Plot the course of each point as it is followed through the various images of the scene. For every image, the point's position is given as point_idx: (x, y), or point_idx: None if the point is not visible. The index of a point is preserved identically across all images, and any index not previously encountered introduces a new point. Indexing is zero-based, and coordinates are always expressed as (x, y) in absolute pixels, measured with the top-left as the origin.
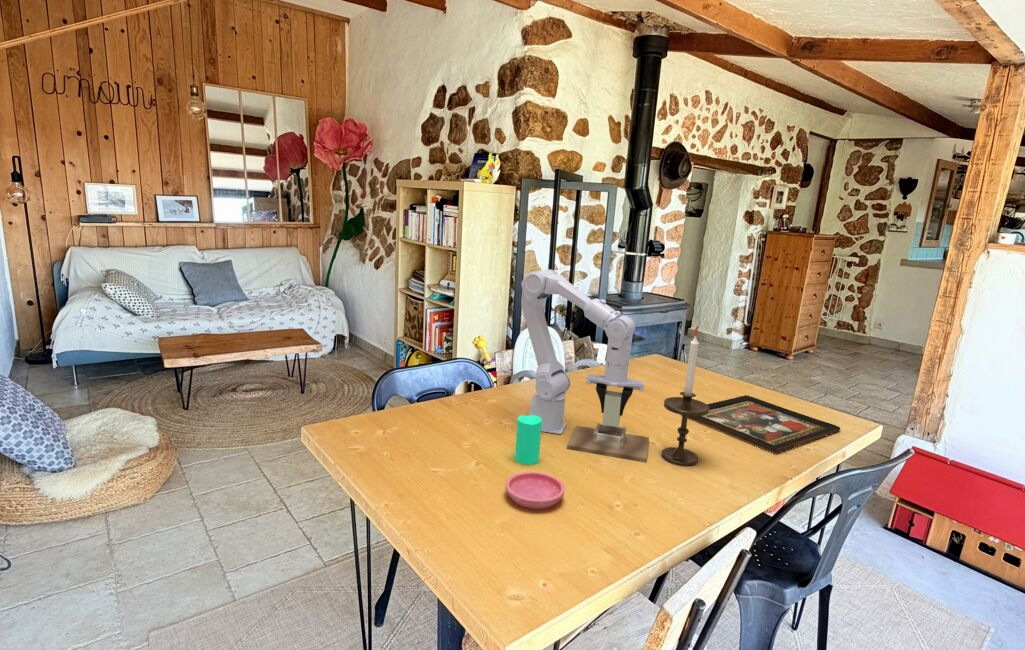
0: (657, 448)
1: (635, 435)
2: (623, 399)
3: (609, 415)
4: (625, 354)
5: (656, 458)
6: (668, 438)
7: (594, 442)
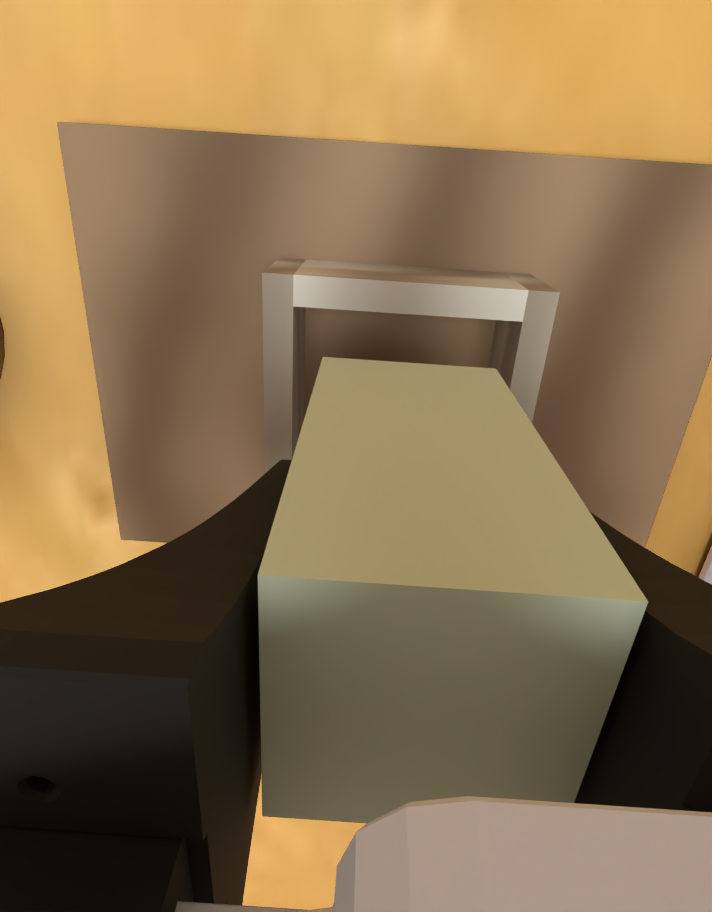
0: (53, 427)
1: None
2: (214, 570)
3: (441, 404)
4: None
5: (19, 244)
6: (24, 594)
7: (523, 275)
